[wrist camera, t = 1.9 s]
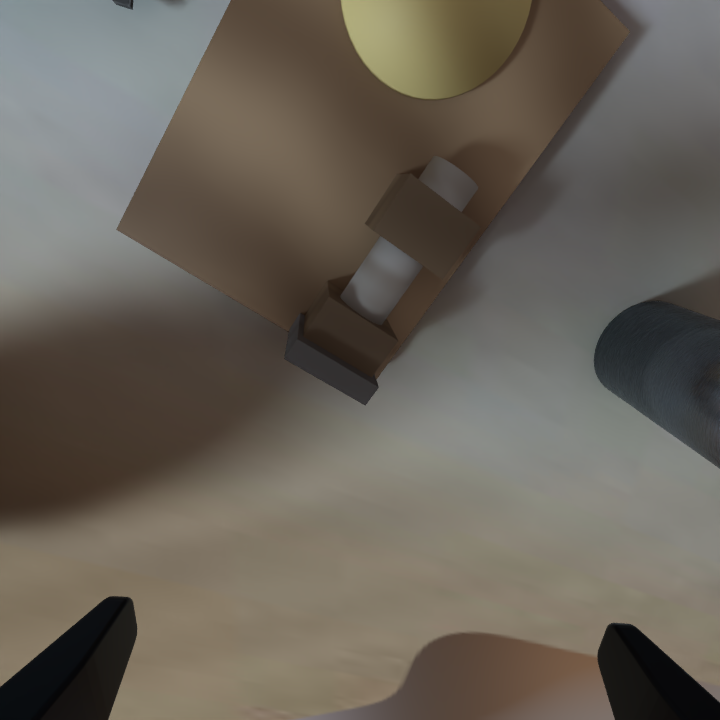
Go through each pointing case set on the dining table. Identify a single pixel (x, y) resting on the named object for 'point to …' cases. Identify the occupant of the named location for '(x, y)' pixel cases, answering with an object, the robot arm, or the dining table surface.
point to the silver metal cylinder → (666, 370)
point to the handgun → (124, 3)
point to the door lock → (359, 157)
